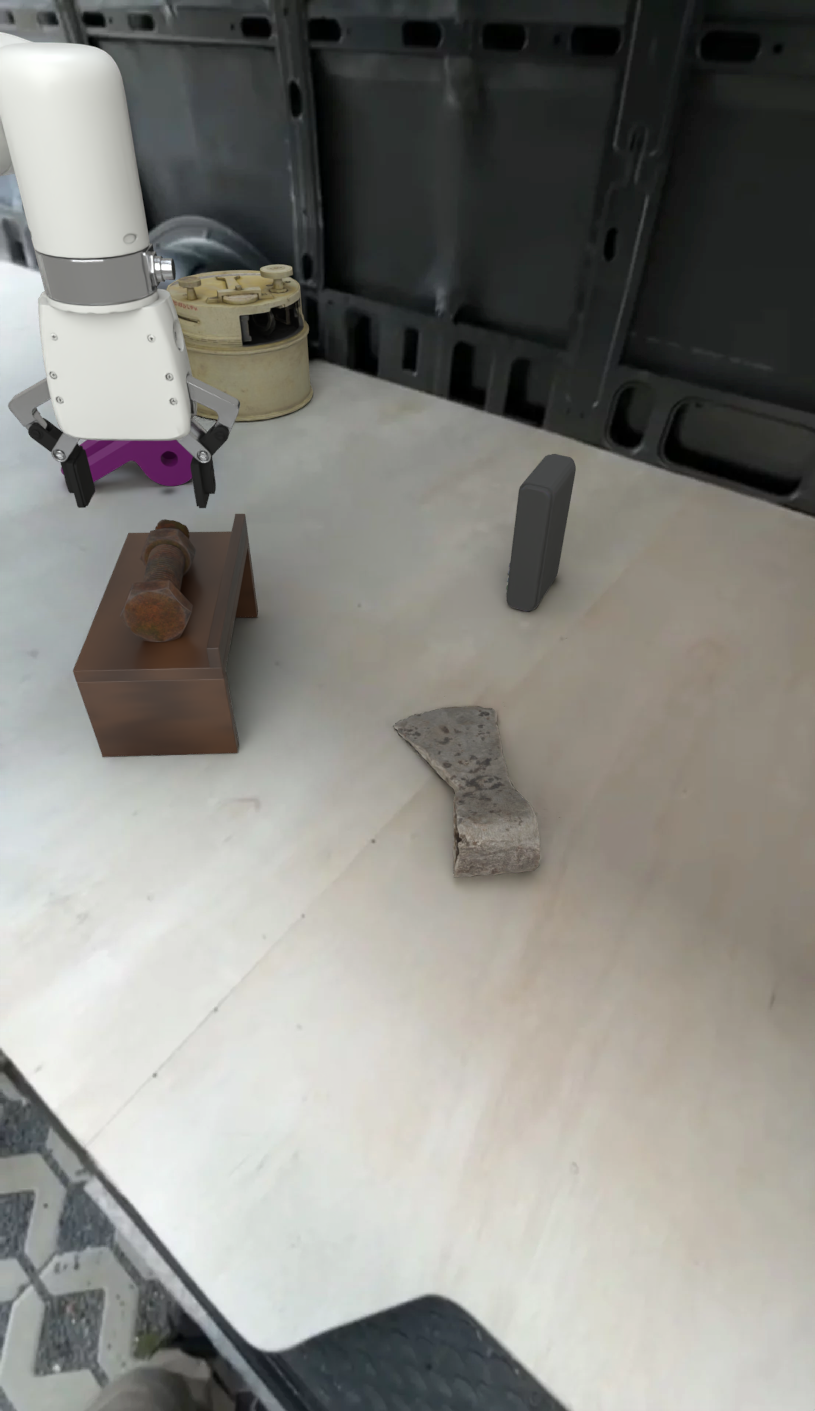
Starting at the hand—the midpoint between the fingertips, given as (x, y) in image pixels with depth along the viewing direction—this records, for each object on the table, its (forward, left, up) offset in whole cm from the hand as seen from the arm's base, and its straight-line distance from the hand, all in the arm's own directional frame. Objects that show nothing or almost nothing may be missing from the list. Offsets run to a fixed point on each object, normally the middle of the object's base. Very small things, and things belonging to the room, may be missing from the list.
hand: (145, 500), depth 66 cm
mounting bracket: (-14, +44, -19) cm, 50 cm away
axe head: (+26, -16, -19) cm, 37 cm away
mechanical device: (-7, +72, -19) cm, 75 cm away
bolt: (0, 0, -9) cm, 9 cm away
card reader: (+37, +14, -19) cm, 44 cm away
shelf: (0, 0, -19) cm, 19 cm away
